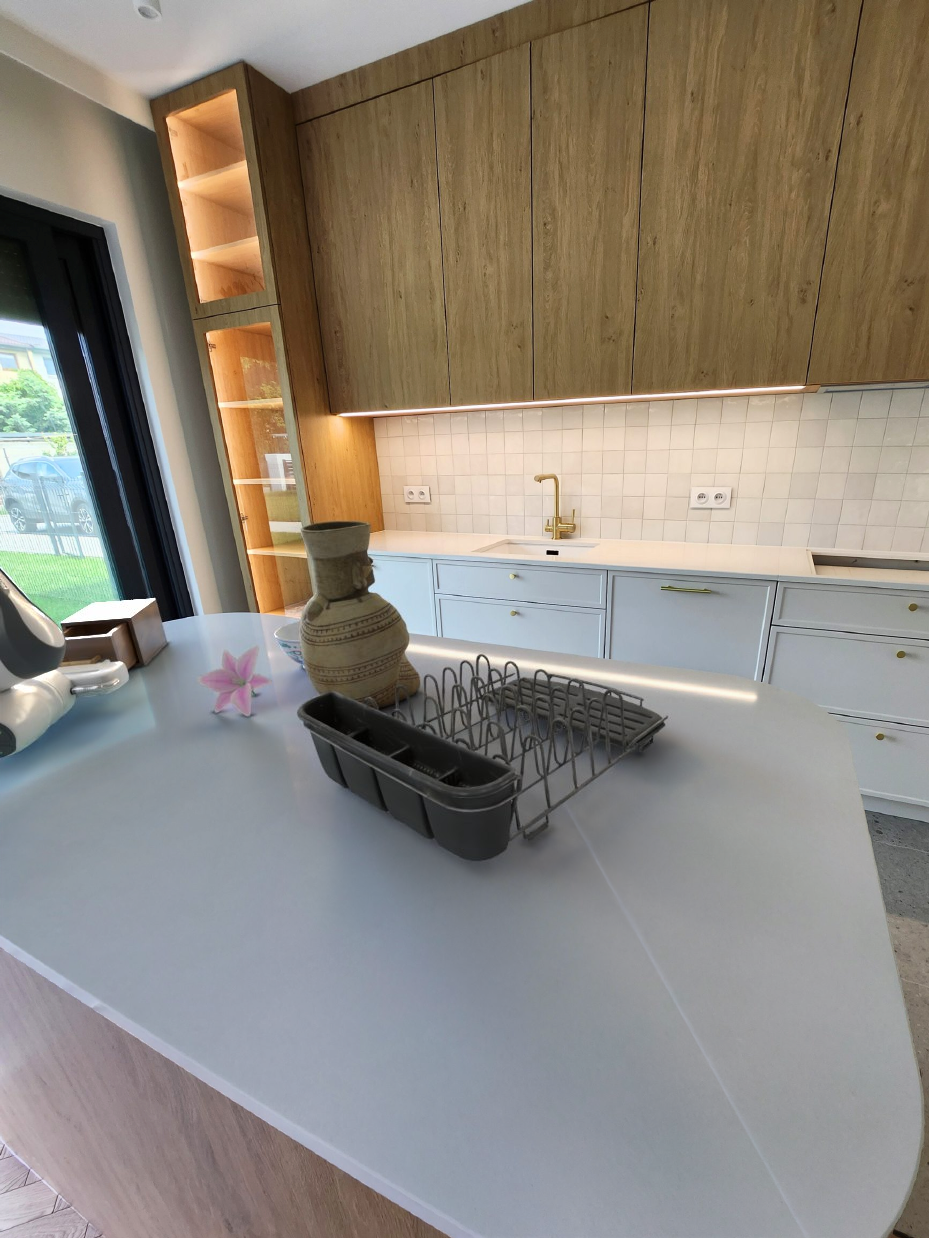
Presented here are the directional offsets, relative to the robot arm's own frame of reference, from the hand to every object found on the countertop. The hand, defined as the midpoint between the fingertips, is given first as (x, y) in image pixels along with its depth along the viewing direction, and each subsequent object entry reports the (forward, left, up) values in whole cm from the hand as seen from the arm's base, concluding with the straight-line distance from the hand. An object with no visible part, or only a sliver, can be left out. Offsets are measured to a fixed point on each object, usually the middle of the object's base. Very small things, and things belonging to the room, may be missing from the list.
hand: (77, 666), depth 107 cm
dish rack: (+70, -46, -5) cm, 84 cm away
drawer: (0, +7, -4) cm, 8 cm away
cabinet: (0, +20, -5) cm, 20 cm away
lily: (+30, -15, -5) cm, 34 cm away
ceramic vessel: (+51, -18, -5) cm, 54 cm away
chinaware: (+42, +2, -5) cm, 42 cm away
